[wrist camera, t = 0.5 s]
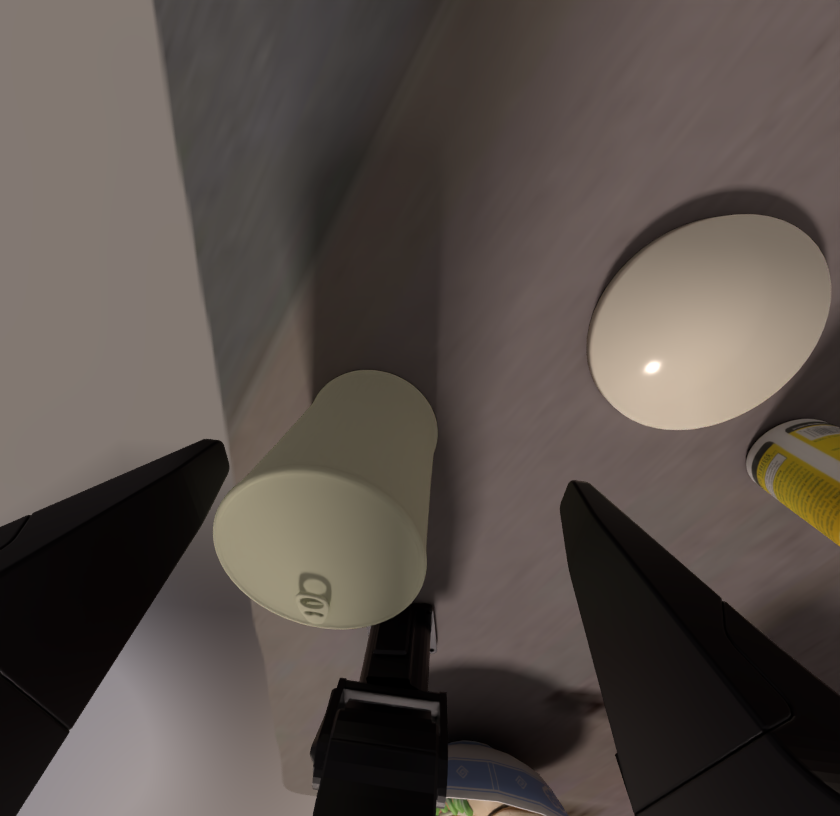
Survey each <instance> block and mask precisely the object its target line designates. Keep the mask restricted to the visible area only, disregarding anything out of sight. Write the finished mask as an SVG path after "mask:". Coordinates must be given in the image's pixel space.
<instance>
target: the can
mask: <svg viewBox="0 0 840 816" xmlns="http://www.w3.org/2000/svg"><path fill="white" fill-rule="evenodd" d="M437 438H438V428H437V422H436V418H435V415H434V412H433V410H432V408H431V406H430V404H429V403H428V401H427V400H426V398H425V397H424V396H423V395H422V393H421V392H420V391H419V390H418V389H416V388H415V387H414V386H413V385H412V384H410V383H409V382H407V381H406V380H404V379H402V378H400V377H398V376H396V375H393V374H390V373H387V372H383V371H377V370H358V371H353V372H349V373H346V374H343V375H341V376H339V377H336V378H335V379H333V380H332V381H330V382H329V383H328V384H326V385H325V386H324V387H323V388H322V389H321V391H320V392H319V393H318V395H317V396H316V398H315V400H314V402H313V403H312V405H311V406H310V407H309V408H308V409H307V410H306V412H305V413H304V414H303V415H302V416H301V417H300V418H299V420H298V421H297V422H296V423H295V424H294V425H293V426H292V427H291V428H290V429H289V431H288V432H287V433H286V434H285V435H284V436H283V437H282V438H281V439H280V441H279V442H278V443H277V444H276V445H275V446H274V447H273V448H272V449H271V450H270V451H269V452H268V454H267V455H266V456H265V457H264V458H263V459H262V460H261V461H260V462H259V463H258V464H257V465H256V466H255V468H254V469H253V470H252V471H251V472H250V473H249V474H248V475H247V476H246V477H245V478H244V479H243V480H242V481H241V482H239V483H238V484H237V485H236V486H235V487H233V488H232V489H231V490H230V491H229V492H228V494H227V495H226V496H225V497H224V499H223V500H222V502H221V504H220V506H219V508H218V510H217V512H216V515H215V519H214V524H213V540H214V545H215V549H216V553H217V555H218V558H219V560H220V562H221V564H222V566H223V568H224V570H225V571H226V573H227V574H228V575H229V577H230V578H231V580H232V581H233V582H234V583H235V584H236V585H237V586H238V587H239V589H240V590H242V591H243V592H244V593H245V594H246V595H247V596H248V597H249V598H251V599H252V600H254V601H255V602H256V603H258V604H259V605H261V606H262V607H264V608H265V609H267V610H269V611H271V612H273V613H275V614H277V615H279V616H281V617H283V618H286V619H289V620H291V621H294V622H297V623H300V624H304V625H308V626H313V627H319V628H326V629H356V628H363V627H367V626H372V625H376V624H378V623H381V622H384V621H386V620H388V619H390V618H392V617H394V616H396V615H397V614H399V613H400V612H402V611H403V610H404V609H405V608H407V607H408V606H409V605H410V604H411V603H412V601H413V600H414V599H415V598H416V596H417V595H418V593H419V591H420V590H421V587H422V585H423V582H424V579H425V576H426V570H427V555H426V544H427V529H428V515H429V501H430V488H431V476H432V465H433V456H434V451H435V448H436V444H437Z"/></svg>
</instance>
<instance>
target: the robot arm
mask: <svg viewBox="0 0 840 816" xmlns="http://www.w3.org/2000/svg"><path fill="white" fill-rule="evenodd" d="M228 472H229V462H228V458H227V454H226V451H225V447H224V444H223V443H222V442H221V441H219V440H212V439H203V440H201V441H198V442H196V443H194V444H192V445H189V446H187V447H185V448H182V449H180V450H178V451H175V452H173V453H171V454H168V455H166V456H164V457H162V458H160V459H157V460H155V461H152V462H150V463H148V464H145V465H143V466H141V467H138V468H136V469H134V470H131V471H129V472H127V473H124V474H122V475H120V476H117V477H115V478H113V479H110V480H108V481H106V482H104V483H101V484H99V485H97V486H94V487H92V488H90V489H87V490H85V491H83V492H80V493H78V494H76V495H74V496H71V497H69V498H66V499H64V500H62V501H60V502H57V503H55V504H53V505H50V506H48V507H46V508H43V509H41V510H39V511H36V512H34V513H33V514H32V515H27V516H25V517H22V518H20V519H18V520H15V521H13V522H11V523H8V524H6V525H4V526H1V527H0V816H16V815H17V813H18V812H19V810H20V809H21V807H22V806H23V804H24V802H25V800H26V799H27V798H28V796H29V795H30V793H31V791H32V790H33V788H34V787H35V785H36V784H37V782H38V780H39V779H40V778H41V776H42V774H43V773H44V771H45V770H46V768H47V767H48V765H49V763H50V762H51V760H52V759H53V757H54V756H55V754H56V753H57V751H58V749H59V748H60V746H61V745H62V743H63V742H64V740H65V738H66V737H67V735H68V734H69V730H70V729H71V728H72V727H73V726H74V724H75V722H76V721H77V719H78V718H79V716H80V714H81V713H82V711H83V710H84V708H85V707H86V705H87V704H88V702H89V700H90V699H91V697H92V696H93V694H94V693H95V691H96V690H97V688H98V687H99V685H100V683H101V682H102V680H103V679H104V677H105V676H106V674H107V672H108V671H109V669H110V668H111V666H112V665H113V663H114V661H115V660H116V658H117V657H118V655H119V654H120V652H121V651H122V649H123V647H124V646H125V644H126V642H127V641H128V640H129V638H130V637H131V635H132V633H133V632H134V630H135V629H136V627H137V626H138V624H139V622H140V621H141V619H142V618H143V616H144V614H145V613H146V611H147V610H148V608H149V607H150V605H151V604H152V602H153V601H154V599H155V598H156V596H157V594H158V593H159V591H160V590H161V588H162V587H163V585H164V583H165V582H166V580H167V579H168V577H169V575H170V574H171V573H172V571H173V569H174V568H175V566H176V565H177V563H178V562H179V560H180V558H181V557H182V555H183V554H184V552H185V551H186V549H187V548H188V546H189V544H190V543H191V541H192V540H193V538H194V537H195V535H196V533H197V532H198V530H199V529H200V527H201V525H202V523H203V521H204V520H205V518H206V516H207V514H208V512H209V510H210V508H211V506H212V504H213V502H214V500H215V498H216V496H217V494H218V492H219V490H220V488H221V486H222V484H223V482H224V480H225V478H226V477H227V474H228ZM560 515H561V522H562V529H563V535H564V542H565V549H566V555H567V562H568V568H569V572H570V576H571V580H572V584H573V588H574V592H575V595H576V599H577V603H578V607H579V610H580V614H581V618H582V622H583V625H584V629H585V633H586V637H587V640H588V644H589V648H590V652H591V655H592V659H593V663H594V667H595V670H596V674H597V678H598V682H599V685H600V689H601V693H602V697H603V700H604V704H605V708H606V712H607V716H608V719H609V723H610V727H611V731H612V734H613V738H614V742H615V746H616V749H617V753H618V757H619V761H620V764H621V768H622V772H623V776H624V779H625V783H626V787H627V791H628V794H629V798H630V802H631V806H632V809H633V812H634V813H635V814H636V815H635V816H840V695H839V694H837V693H836V692H835V691H833V690H832V689H831V688H830V687H828V686H827V685H826V684H825V683H823V682H822V681H821V680H819V679H818V678H817V677H816V676H814V675H813V674H812V673H811V672H809V671H808V670H807V669H806V668H804V667H803V666H802V665H801V664H799V663H798V662H797V661H796V660H794V659H793V658H792V657H791V656H789V655H788V654H787V653H786V652H784V651H783V650H782V649H781V648H780V647H778V646H777V645H776V644H775V643H773V642H772V641H771V640H770V639H769V638H768V637H766V636H765V635H764V634H763V633H762V632H760V631H759V630H758V629H757V628H756V627H755V626H753V625H752V624H751V623H750V622H749V621H747V620H746V619H745V618H744V617H743V616H742V615H740V614H739V613H738V612H737V611H736V610H735V609H734V608H732V607H731V606H730V605H729V604H728V603H727V602H725V601H722V599H721V597H720V596H718V595H717V594H716V593H715V592H714V591H713V590H712V589H710V588H709V587H708V586H707V585H706V584H705V583H704V582H702V581H701V580H700V579H699V578H698V577H697V576H696V575H694V574H693V573H692V572H691V571H690V570H689V569H687V568H686V567H685V566H684V565H683V564H682V563H681V562H679V561H678V560H677V559H676V558H675V557H674V556H673V555H671V554H670V553H669V552H668V551H667V550H666V549H665V548H663V547H662V546H661V545H660V544H659V543H658V542H656V541H655V540H654V539H653V538H652V537H651V536H650V535H648V534H647V533H646V532H645V531H644V530H643V529H642V528H640V527H639V526H638V525H637V524H636V523H635V522H634V521H632V520H631V519H630V518H629V517H628V516H627V515H625V514H624V513H623V512H622V511H621V510H620V509H619V508H617V507H616V506H615V505H614V504H613V503H612V502H611V501H609V500H608V499H607V498H606V497H605V496H604V495H603V494H601V493H600V492H599V491H598V490H597V489H596V488H594V487H593V486H592V485H591V484H590V483H588V482H585V481H576V480H572V481H570V482H569V484H568V486H567V488H566V491H565V493H564V496H563V499H562V501H561V504H560ZM367 631H368V636H369V638H368V643H367V648H366V653H365V657H364V662H363V667H362V671H361V676H360V681H359V682H357V681H350V680H347V679H346V678H340V679H339V682H338V685H337V688H335V689H333V690H332V692H331V696H330V700H329V703H328V707H327V710H326V713H325V716H324V719H323V721H322V723H321V726H320V728H319V730H318V732H317V735H316V737H315V739H314V741H313V744H312V747H311V751H310V757H311V759H312V761H313V764H314V765H313V782H312V787H313V789H314V790H318V793H317V798H316V802H315V807H314V812H313V816H436V808H440V809H444V808H445V803H446V793H447V778H448V728H447V696H446V692H440V693H437V692H429V691H428V678H429V659H430V653H436V652H437V641H436V630H435V618H434V608H433V606H432V605H430V604H410V605H409V606H408V607H407V608H405V609H404V610H403V611H402V612H400V613H399V614H397V615H396V616H394V617H392V618H390V619H388V620H386V621H384V622H381V623H378V624H376V625H372V626H367Z"/></svg>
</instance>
